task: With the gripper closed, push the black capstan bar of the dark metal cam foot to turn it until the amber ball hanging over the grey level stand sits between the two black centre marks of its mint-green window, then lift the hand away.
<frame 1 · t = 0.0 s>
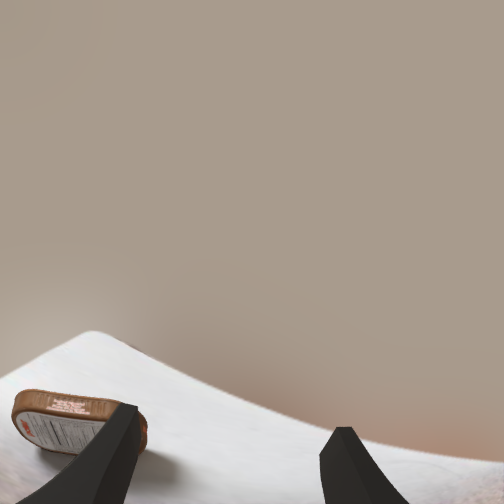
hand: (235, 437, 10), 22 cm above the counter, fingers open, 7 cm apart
tin: (84, 451, 26), on the counter
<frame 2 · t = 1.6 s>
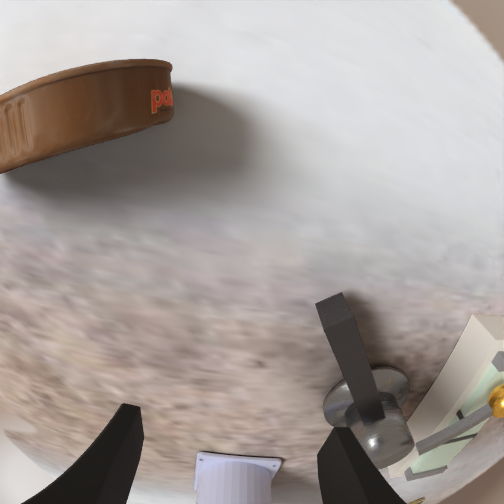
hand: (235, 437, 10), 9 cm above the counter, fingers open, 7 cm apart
tin: (65, 127, 15), on the counter
level stand: (450, 394, 23), on the counter
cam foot: (422, 382, 17), point 4 cm above the counter, hinge at 35.0°
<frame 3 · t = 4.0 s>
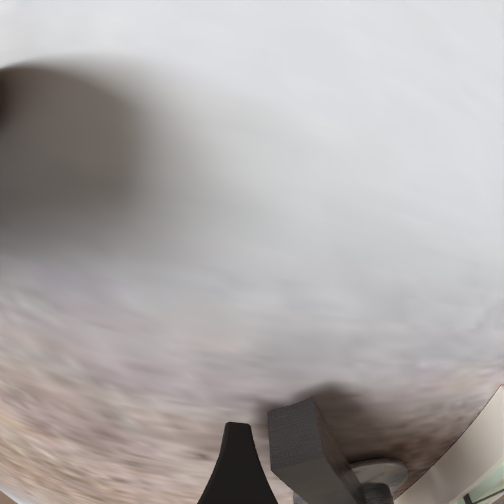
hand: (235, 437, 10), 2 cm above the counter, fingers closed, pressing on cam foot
level stand: (458, 464, 16), on the counter
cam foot: (424, 495, 9), point 4 cm above the counter, hinge at 34.8°, touching gripper
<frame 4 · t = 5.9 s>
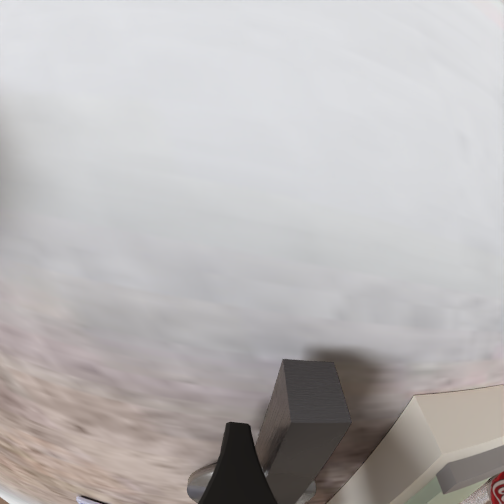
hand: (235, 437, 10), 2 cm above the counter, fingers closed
level stand: (390, 479, 16), on the counter
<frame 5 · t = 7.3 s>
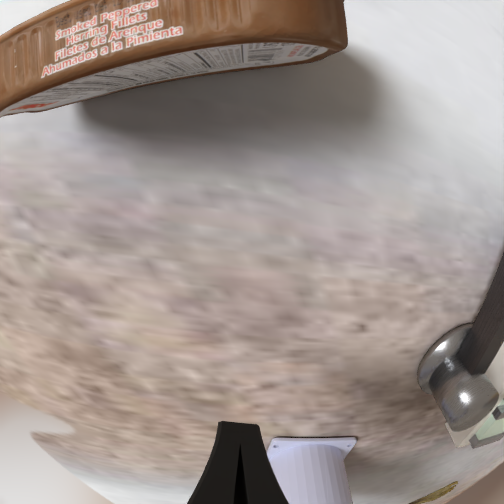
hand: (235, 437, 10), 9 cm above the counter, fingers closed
tongs: (423, 494, 37), on the counter
tin: (172, 63, 14), on the counter
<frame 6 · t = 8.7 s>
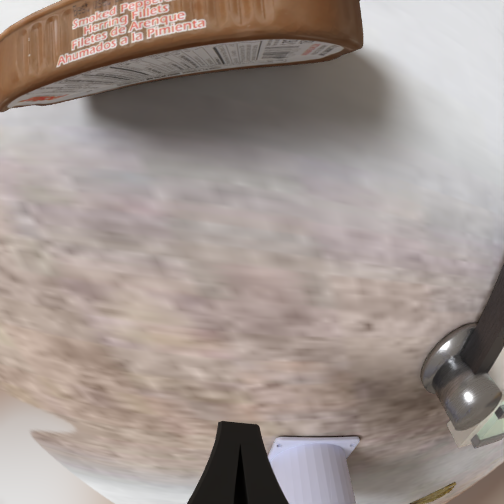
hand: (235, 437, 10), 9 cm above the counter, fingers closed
tongs: (421, 496, 37), on the counter
tin: (183, 59, 14), on the counter
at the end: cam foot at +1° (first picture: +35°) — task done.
